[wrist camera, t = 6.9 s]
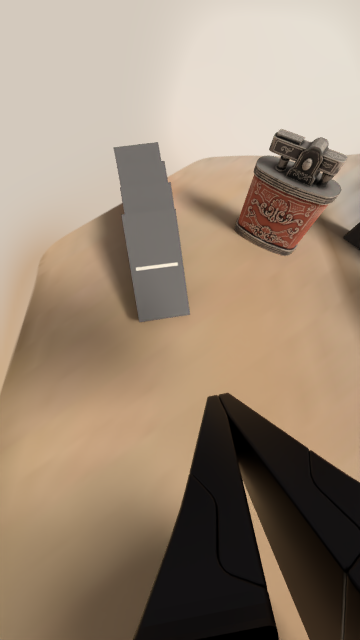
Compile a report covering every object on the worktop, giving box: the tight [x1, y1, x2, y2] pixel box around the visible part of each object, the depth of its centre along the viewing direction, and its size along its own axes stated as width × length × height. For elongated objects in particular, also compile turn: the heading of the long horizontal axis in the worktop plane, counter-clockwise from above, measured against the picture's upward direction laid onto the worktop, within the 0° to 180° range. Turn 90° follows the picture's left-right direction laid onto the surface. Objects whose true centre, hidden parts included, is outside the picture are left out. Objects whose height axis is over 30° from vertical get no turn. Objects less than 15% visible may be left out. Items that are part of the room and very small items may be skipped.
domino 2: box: [117, 161, 168, 187], centre depth 21 cm, size 2×5×10 cm
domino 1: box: [114, 142, 161, 166], centre depth 23 cm, size 2×5×10 cm
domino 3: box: [120, 182, 174, 214], centre depth 20 cm, size 2×5×10 cm
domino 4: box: [122, 209, 190, 322], centre depth 19 cm, size 2×5×10 cm
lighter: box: [235, 129, 347, 256], centre depth 20 cm, size 8×3×10 cm, turn 55°
